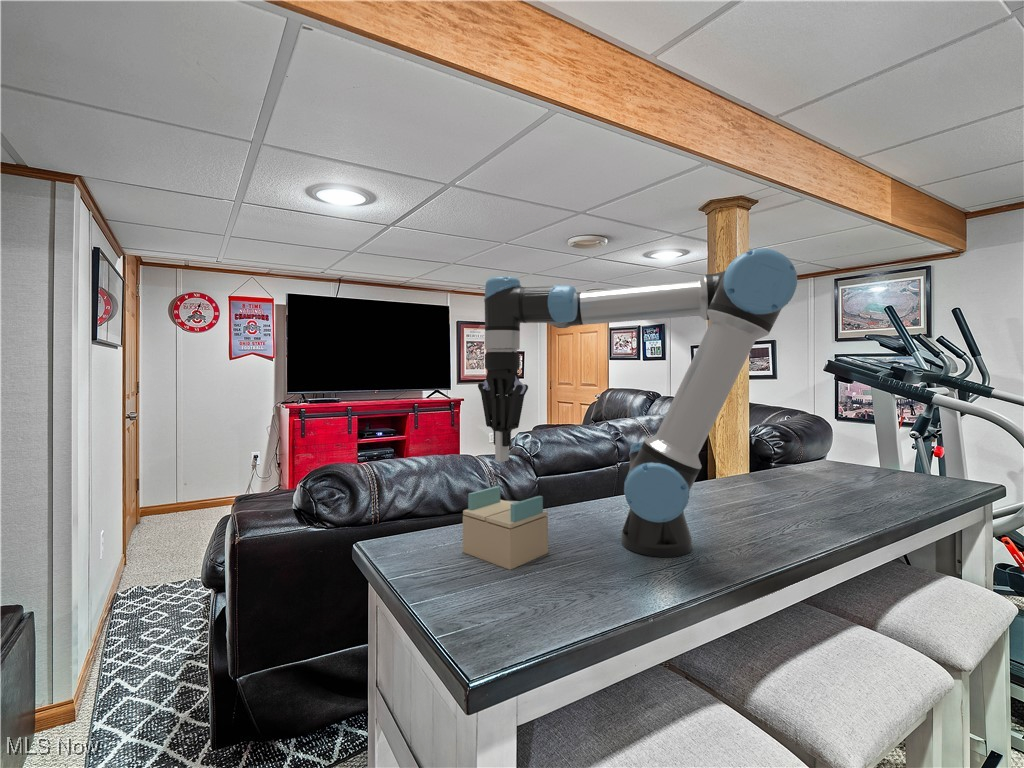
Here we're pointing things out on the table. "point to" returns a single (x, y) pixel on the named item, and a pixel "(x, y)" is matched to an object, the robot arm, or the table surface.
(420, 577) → the table surface
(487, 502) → the lid
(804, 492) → the table surface
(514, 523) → the lid near
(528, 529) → the carton
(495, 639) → the table surface
